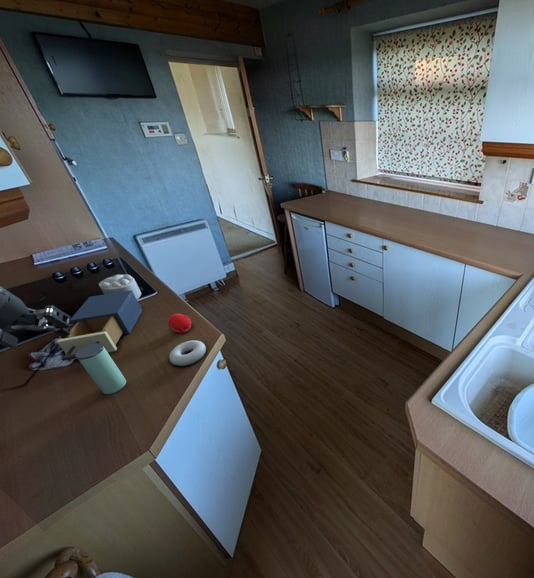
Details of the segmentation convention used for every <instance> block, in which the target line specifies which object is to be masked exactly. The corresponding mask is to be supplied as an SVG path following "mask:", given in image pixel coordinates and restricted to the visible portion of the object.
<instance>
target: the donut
mask: <svg viewBox="0 0 534 578" xmlns="http://www.w3.org/2000/svg"><path fill="white" fill-rule="evenodd" d="M206 351H207V347H206V345H205V343H204V342H203V341H201V340H196V339H195V340H192V339H191V340H187V341H184V342H181V343H179V344H177V345H176V346H175V347H173V349H172V350H171V351H170V353H169V361H170V363H171V364H173V365H174V366H178V367H186V366H190V365H192V364H194V363H196V362H198V361H199V360H200V359H202V358H203V357H204V356H205V354H206ZM188 352H189V353H188Z"/></svg>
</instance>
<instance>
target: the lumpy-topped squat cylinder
mask: <svg viewBox="0 0 534 578" xmlns="http://www.w3.org/2000/svg"><path fill="white" fill-rule="evenodd" d="M98 287H99V288H100V290H101V292H102V293H103V295H105V294H112V293H118V292H125V291H133V293H134V295H135V297H136V299H137V300H138V299H140V297H141V296H142V292H141V290H140V287H139V286H138V283H137V282H136V280H135V278H134V277H133V276H131V274H126V273H125V274H124V273H123V274H115V275H112V276H110V277H109V276H108V277H106V278H104V279H103V280H101V281H100V282H99V283H98Z"/></svg>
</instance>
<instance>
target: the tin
mask: <svg viewBox="0 0 534 578" xmlns="http://www.w3.org/2000/svg"><path fill="white" fill-rule="evenodd" d="M75 356H76V358H77V359H76V360H78V361H79V362H80V364H81V365H82V367H83V368H84V369H85V371H86V372H87V373H88V375H89V376H90V378H91V379H92V380H93V381H94V383H95V384H96V385H97V386H98V388H99V389H100V390H101V393H103V394H105V395H111V394H114V393H117V392H118V391H120V390H122V389H123V388H124V387H125V386H126V384H127V379H126V378H125V376H124V375H123V373H122V372H121V370H120V369H119V367H118V366H117V364H116V363H115V361H114V360H113V358H112V357H111V356H110V354H109V352H107V351H106V349H105V348H104V346H103V344H100V343H95V344H91V345H88V346H85V347H83V348H82V349H80V350H79V351H78V352H77V353H76V355H75Z"/></svg>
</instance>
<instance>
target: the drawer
mask: <svg viewBox="0 0 534 578" xmlns="http://www.w3.org/2000/svg"><path fill="white" fill-rule="evenodd" d="M123 331H124V329H123V327H122V325H121V324H120V322H119V320H118V318H117V317H116V315H113V316H107V317H101V318H95V319H89V320H83V321H78V322H77V323H76V324H75V325H74V326H72V327H71V331H70V335H69V337H68V338H59V339H58V340H57V342H56V343H57V344H58V345H59V347H60V349H62V351H63V352H64V353H65V355H62V356H61V360H62V361H69V360H70V361H72V360H78V359H77V358H76V356H75V355H76V353H77V352H78V351H79V350H80V349H82V348H83V347H85V346H88V345H91V344H95V343H100V344H103V346H104V348H105V349H106V351H107V352H108V353H112V352H116V351H117V350H118V347H117V346H116V345H117V343H119V340H120V339H121V337H122V336H123V335H122V333H123Z"/></svg>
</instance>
